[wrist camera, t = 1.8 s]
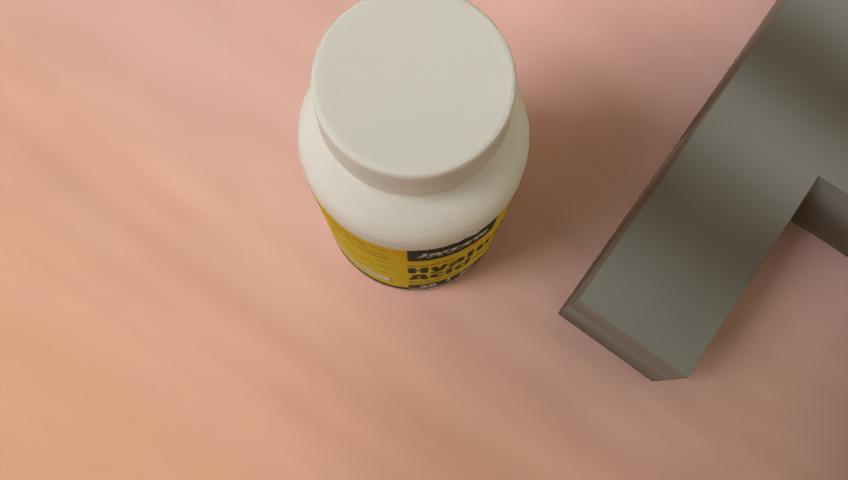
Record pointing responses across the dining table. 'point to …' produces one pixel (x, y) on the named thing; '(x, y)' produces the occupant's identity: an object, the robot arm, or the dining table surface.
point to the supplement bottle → (413, 138)
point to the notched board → (728, 195)
